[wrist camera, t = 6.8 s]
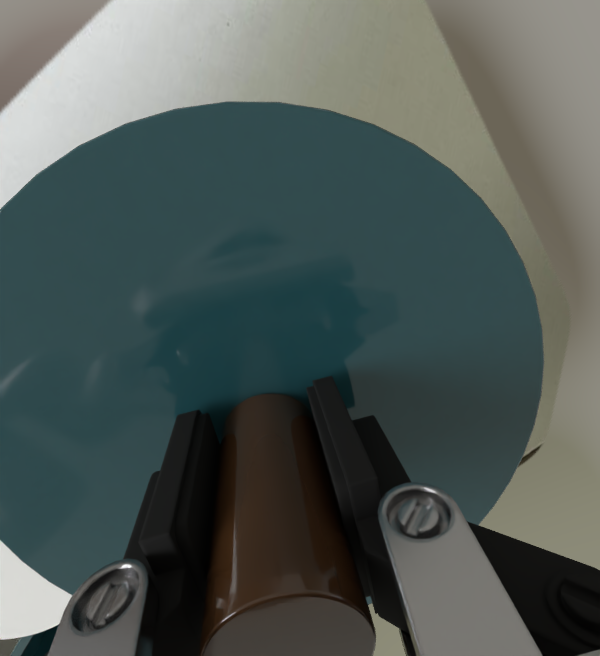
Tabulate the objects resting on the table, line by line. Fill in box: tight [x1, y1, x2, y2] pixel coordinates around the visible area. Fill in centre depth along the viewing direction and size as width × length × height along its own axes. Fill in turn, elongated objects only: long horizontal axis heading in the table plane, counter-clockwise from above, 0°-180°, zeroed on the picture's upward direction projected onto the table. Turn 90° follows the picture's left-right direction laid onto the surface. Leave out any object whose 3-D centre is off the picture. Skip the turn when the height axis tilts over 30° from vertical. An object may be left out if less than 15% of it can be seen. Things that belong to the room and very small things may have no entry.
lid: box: [0, 102, 544, 656], centre depth 9 cm, size 16×16×7 cm
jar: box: [0, 541, 72, 640], centre depth 23 cm, size 12×10×15 cm
